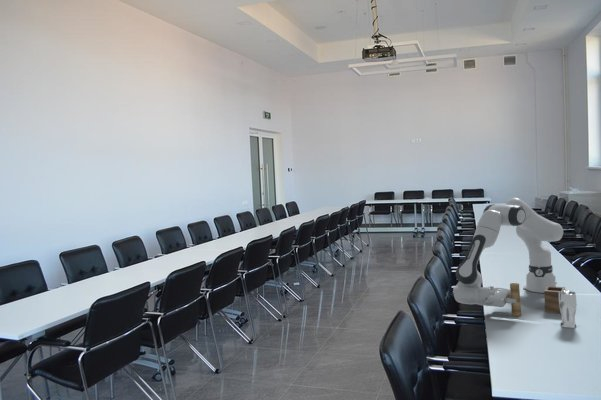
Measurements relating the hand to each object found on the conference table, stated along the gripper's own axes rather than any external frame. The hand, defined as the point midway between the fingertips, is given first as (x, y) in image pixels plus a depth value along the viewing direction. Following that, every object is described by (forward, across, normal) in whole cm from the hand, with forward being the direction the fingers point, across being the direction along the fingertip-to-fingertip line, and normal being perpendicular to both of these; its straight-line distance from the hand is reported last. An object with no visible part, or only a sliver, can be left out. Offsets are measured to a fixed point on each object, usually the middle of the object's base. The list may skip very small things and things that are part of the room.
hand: (517, 298), depth 231 cm
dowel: (-1, 0, +9) cm, 9 cm away
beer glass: (+21, -5, +9) cm, 24 cm away
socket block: (+14, +15, +8) cm, 22 cm away
